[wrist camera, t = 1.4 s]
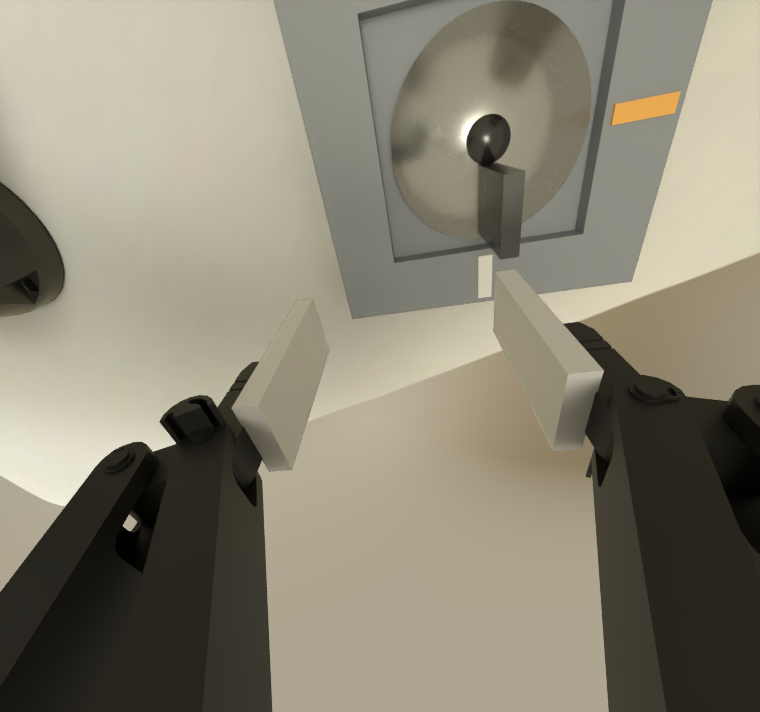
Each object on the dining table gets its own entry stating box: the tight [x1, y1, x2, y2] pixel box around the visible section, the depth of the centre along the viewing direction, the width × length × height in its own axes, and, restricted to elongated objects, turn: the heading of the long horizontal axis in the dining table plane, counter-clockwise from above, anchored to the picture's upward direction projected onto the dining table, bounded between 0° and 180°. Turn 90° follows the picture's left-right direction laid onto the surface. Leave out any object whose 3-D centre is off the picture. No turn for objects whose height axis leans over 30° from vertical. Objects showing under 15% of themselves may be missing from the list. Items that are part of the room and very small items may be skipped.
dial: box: [391, 0, 591, 260], centre depth 21 cm, size 14×14×8 cm
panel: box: [274, 0, 713, 319], centre depth 24 cm, size 26×26×3 cm
